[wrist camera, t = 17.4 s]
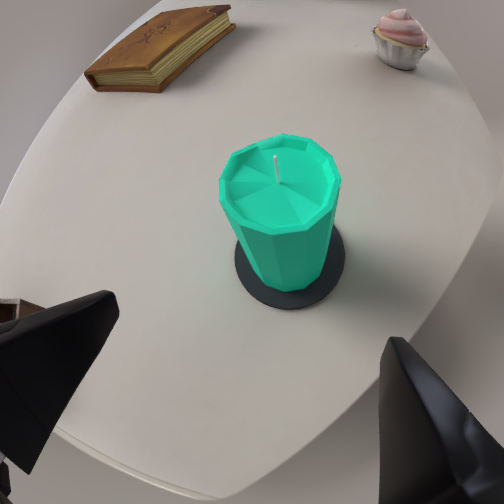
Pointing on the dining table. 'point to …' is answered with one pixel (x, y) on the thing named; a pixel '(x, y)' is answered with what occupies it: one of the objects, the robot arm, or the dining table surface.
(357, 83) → the dining table surface
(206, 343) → the dining table surface
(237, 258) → the coaster
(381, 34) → the cupcake
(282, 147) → the candle
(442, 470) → the robot arm
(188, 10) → the diary
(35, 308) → the holder
